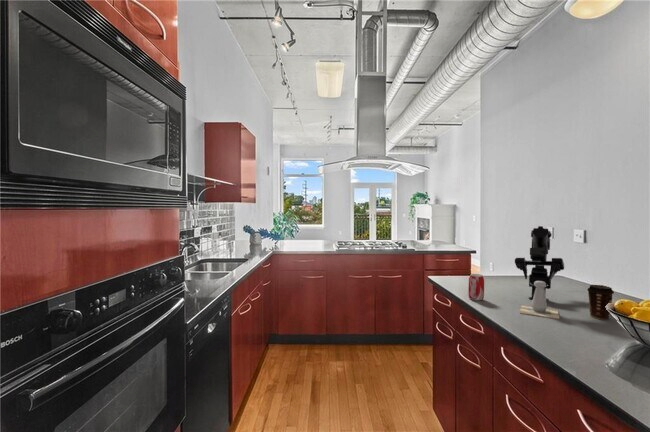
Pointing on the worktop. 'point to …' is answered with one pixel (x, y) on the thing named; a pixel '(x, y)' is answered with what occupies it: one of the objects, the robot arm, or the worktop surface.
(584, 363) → the worktop surface
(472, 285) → the soda can
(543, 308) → the salt shaker
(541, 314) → the board
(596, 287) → the coffee cup
